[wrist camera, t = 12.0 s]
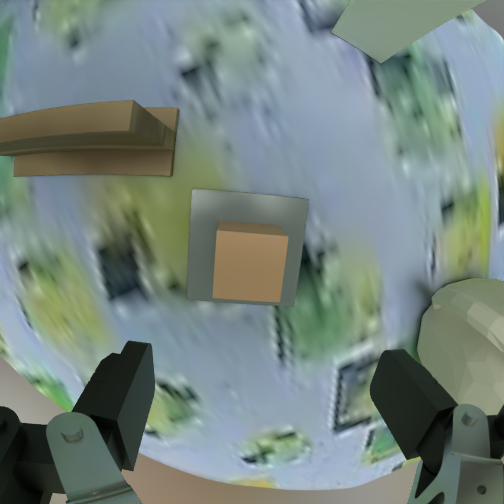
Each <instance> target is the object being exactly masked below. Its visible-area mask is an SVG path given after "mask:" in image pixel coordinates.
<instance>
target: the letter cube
mask: <svg viewBox="0 0 504 504" xmlns="http://www.w3.org/2000/svg"><path fill="white" fill-rule="evenodd" d="M288 237H289V236H288V235H287V234H286V233H285V232H284V231H283V230H282V229H281V228H280V227H279V226H278V225H267V224H256V223H244V222H232V221H220V222H219V225H218V229H217V236H216V250H215V264H214V280H213V297H212V298H220V299H233V300H248V301H264V302H280V298H281V291H282V283H283V276H284V268H285V261H286V253H287V245H288Z"/></svg>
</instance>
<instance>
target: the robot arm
mask: <svg viewBox="0 0 504 504" xmlns="http://www.w3.org/2000/svg"><path fill="white" fill-rule="evenodd" d="M154 391H155V377H154V366H153V355H152V346H151V344H150V343H143V342H136V341H128V342H127V343H126V345H125V347H124V348H123V350H122V352H121V354H116V353H111V354H110V355H109V356H107V357H106V358H104V359H103V360H101V362H100V364H99V365H98V367H97V368H96V370H95V373H93V375H92V377H91V379H90V381H89V382H88V384H87V385H86V387H85V389H84V390H83V392H82V394H81V396H80V397H79V399H78V401H77V403H76V404H75V406H74V408H73V410H72V411H71V412H66V413H62V414H59V415H57V416H55V417H54V418H53V419H52V420H51V421H50V422H49V423H48V425H41V424H29V423H21V422H20V420H19V418H18V416H17V414H16V413H15V412H14V411H13V410H11V409H9V408H7V407H3V406H0V504H49V503H50V500H51V496H52V493H60V494H66V495H67V498H68V501H66V504H143V503H142V502H141V500H140V499H139V497H138V496H137V494H136V493H135V492H134V490H133V489H132V487H131V486H130V485H128V484H127V482H126V480H125V479H124V477H123V475H122V474H121V471H122V469H125V470H129V471H133V470H134V466H135V463H136V458H137V455H138V451H139V447H140V443H141V440H142V436H143V432H144V429H145V425H146V422H147V418H148V415H149V411H150V408H151V404H152V401H153V397H154ZM370 396H371V399H372V401H373V402H374V404H375V406H376V408H377V409H378V411H379V413H380V414H381V416H382V418H383V419H384V421H385V423H386V425H387V426H388V428H389V430H390V431H391V433H392V435H393V437H394V438H395V440H396V442H397V444H398V445H399V447H400V449H401V451H402V452H403V454H404V456H405V458H406V459H407V460H409V459H413V458H416V457H419V456H420V457H421V461H420V462H419V464H418V466H417V470H416V474H415V478H414V482H413V486H412V489H411V493H410V497H409V500H408V503H407V504H504V464H503V462H502V460H501V458H502V457H503V456H504V405H503V406H502V408H501V409H500V411H499V413H498V414H497V415H486V414H485V413H484V412H483V411H482V410H481V409H480V408H478V407H476V406H474V405H471V404H461V405H458V404H457V402H456V401H455V400H454V399H453V398H452V397H451V396H450V394H449V393H448V392H447V391H446V390H445V389H444V388H443V387H442V385H441V384H440V383H439V384H438V381H437V380H436V379H435V378H434V377H432V374H431V373H430V372H429V371H428V370H427V369H426V368H425V367H424V366H422V365H421V364H419V363H418V362H416V361H415V360H414V359H413V358H412V357H411V356H410V355H409V354H408V353H407V352H406V351H405V350H404V349H396V350H385V351H384V352H383V353H382V354H381V357H380V360H379V363H378V365H377V368H376V371H375V374H374V376H373V379H372V382H371V385H370Z"/></svg>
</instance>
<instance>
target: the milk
mask: <svg viewBox="0 0 504 504" xmlns="http://www.w3.org/2000/svg"><path fill="white" fill-rule="evenodd" d="M484 1H486V0H350V2H349V4H348V5H347V7H346V8H345V10H344V12H343V13H342V15H341V16H340V18H339V20H338V21H337V23H336V25H335V26H334V28H333V29H332V31H331V32H332V33H333V34H335V35H337V36H338V37H340V38H342V39H343V40H345V41H347V42H348V43H350V44H352V45H353V46H355V47H356V48H358V49H360V50H361V51H363V52H364V53H366V54H367V55H369V56H370V57H372V58H373V59H375V60H376V61H378V62H379V63H383V62H384V61H386V60H387V59H389V58H390V57H392V56H393V55H395V54H396V53H398V52H399V51H401V50H402V49H404V48H405V47H407V46H408V45H410V44H411V43H413V42H415V41H416V40H418V39H419V38H421V37H422V36H424V35H426V34H427V33H429V32H431V31H432V30H434V29H436V28H437V27H439V26H441V25H442V24H444V23H446V22H447V21H449V20H451V19H453V18H454V17H456V16H458V15H460V14H461V13H463V12H465V11H467V10H469V9H470V8H472V7H474V6H476V5H478V4H480V3H482V2H484Z"/></svg>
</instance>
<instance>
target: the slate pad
mask: <svg viewBox="0 0 504 504" xmlns="http://www.w3.org/2000/svg"><path fill="white" fill-rule="evenodd" d="M308 201H309V200H308V199H303V198H294V197H285V196H276V195H266V194H256V193H245V192H234V191H221V190H208V189H192V201H191V216H190V232H189V252H188V277H187V299H188V300H200V301H212V302H225V303H239V304H254V305H272V306H292V307H294V303H295V297H296V290H297V284H298V277H299V270H300V263H301V256H302V249H303V242H304V234H305V226H306V218H307V210H308ZM220 221H232V222H244V223H256V224H267V225H278V226H279V227H280V228H281V229H282V230H283V231H284V232H285V233H286V234H287V235H288V236H289V237H288V245H287V253H286V261H285V268H284V276H283V283H282V291H281V298H280V302H264V301H248V300H233V299H220V298H212V297H213V280H214V264H215V250H216V236H217V229H218V225H219V222H220Z"/></svg>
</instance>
